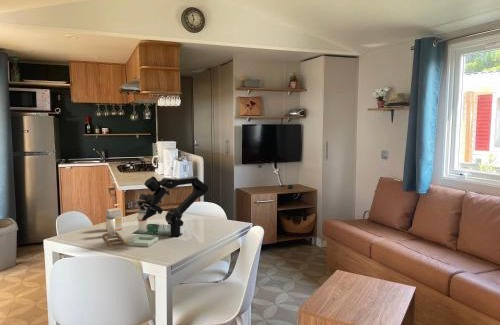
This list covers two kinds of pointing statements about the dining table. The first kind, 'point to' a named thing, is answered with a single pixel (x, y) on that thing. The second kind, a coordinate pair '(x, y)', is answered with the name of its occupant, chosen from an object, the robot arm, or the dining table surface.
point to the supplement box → (118, 217)
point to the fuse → (111, 225)
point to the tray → (143, 241)
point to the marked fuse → (142, 223)
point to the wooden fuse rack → (115, 239)
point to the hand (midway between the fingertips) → (140, 219)
